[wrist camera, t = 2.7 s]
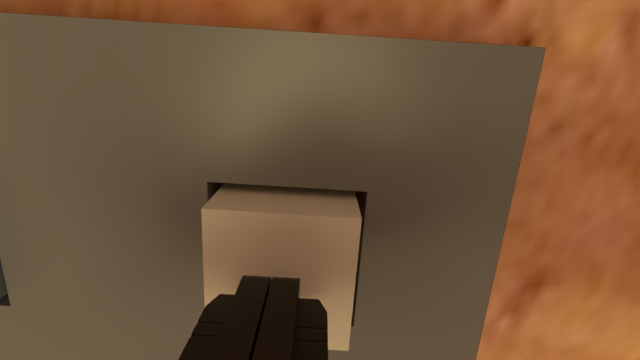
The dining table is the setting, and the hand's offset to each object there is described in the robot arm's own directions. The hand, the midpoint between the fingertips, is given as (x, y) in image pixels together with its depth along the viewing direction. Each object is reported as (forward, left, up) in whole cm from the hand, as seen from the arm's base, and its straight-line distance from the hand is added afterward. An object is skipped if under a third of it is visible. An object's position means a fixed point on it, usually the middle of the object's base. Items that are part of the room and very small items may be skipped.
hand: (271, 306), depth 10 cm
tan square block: (0, 0, -3) cm, 3 cm away
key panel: (+6, 0, -7) cm, 9 cm away
